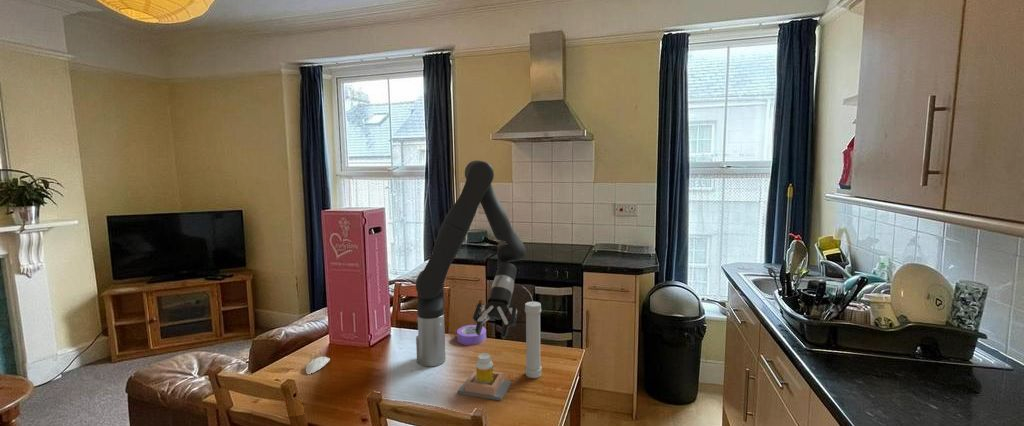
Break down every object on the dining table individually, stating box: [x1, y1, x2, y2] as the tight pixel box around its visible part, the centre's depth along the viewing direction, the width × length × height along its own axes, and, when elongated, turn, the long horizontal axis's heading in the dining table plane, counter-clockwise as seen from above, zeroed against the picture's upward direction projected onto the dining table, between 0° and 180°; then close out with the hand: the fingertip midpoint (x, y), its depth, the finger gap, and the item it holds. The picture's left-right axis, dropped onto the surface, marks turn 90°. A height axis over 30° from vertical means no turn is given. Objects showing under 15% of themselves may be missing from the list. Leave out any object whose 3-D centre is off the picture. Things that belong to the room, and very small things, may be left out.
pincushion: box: [305, 352, 331, 375], centre depth 143 cm, size 12×6×6 cm, turn 175°
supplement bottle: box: [475, 352, 494, 385], centre depth 127 cm, size 5×5×10 cm
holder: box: [457, 369, 512, 402], centre depth 127 cm, size 14×10×4 cm
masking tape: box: [456, 324, 487, 346], centre depth 165 cm, size 12×12×4 cm
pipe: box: [521, 286, 543, 379], centre depth 134 cm, size 6×6×30 cm
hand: (490, 335), depth 131 cm, fingers open, 8 cm apart
